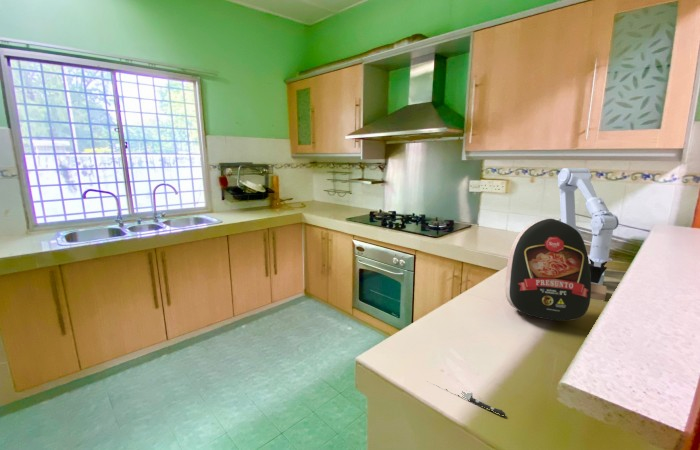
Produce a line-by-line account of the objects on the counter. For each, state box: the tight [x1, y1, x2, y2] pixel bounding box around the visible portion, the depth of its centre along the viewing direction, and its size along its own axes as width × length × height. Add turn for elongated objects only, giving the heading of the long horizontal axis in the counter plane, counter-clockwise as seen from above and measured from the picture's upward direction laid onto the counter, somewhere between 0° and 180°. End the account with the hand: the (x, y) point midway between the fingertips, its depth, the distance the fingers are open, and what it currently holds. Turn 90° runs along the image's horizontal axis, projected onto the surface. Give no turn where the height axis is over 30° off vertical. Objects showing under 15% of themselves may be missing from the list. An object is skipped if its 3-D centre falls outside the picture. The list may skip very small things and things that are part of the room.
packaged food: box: [504, 218, 591, 322], centre depth 97 cm, size 22×20×30 cm
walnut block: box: [590, 283, 607, 302], centre depth 115 cm, size 9×9×3 cm
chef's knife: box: [461, 391, 506, 417], centre depth 67 cm, size 19×1×3 cm
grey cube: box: [591, 271, 606, 286], centre depth 123 cm, size 5×5×5 cm
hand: (595, 279), depth 123 cm, fingers open, 7 cm apart
